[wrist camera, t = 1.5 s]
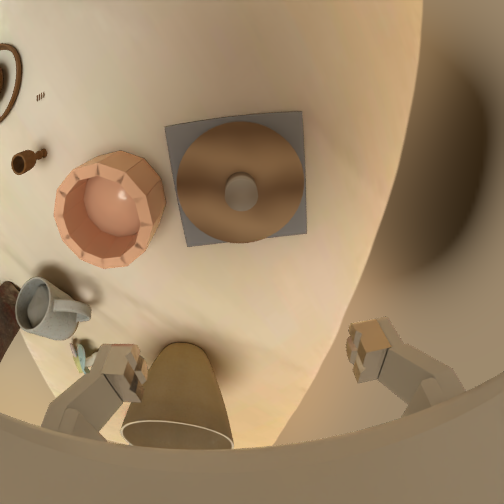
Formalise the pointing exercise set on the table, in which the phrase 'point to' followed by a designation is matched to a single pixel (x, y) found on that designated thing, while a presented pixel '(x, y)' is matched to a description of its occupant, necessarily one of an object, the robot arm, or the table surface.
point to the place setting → (25, 158)
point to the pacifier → (82, 359)
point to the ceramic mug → (49, 310)
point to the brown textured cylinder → (7, 316)
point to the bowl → (110, 209)
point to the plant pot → (179, 404)
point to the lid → (240, 182)
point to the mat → (280, 122)
